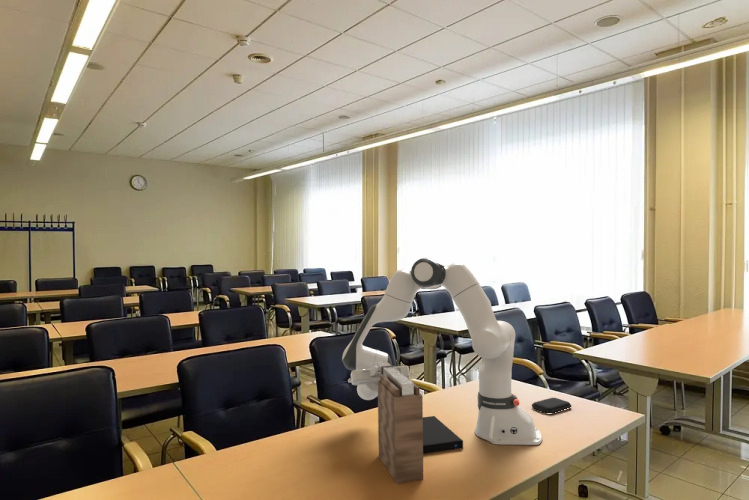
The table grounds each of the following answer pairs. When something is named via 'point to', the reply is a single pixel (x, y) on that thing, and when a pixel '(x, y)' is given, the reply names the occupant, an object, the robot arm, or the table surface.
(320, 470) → the table surface
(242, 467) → the table surface
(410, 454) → the block
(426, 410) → the table surface
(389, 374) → the bar
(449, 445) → the external hard drive
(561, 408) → the black microchip
